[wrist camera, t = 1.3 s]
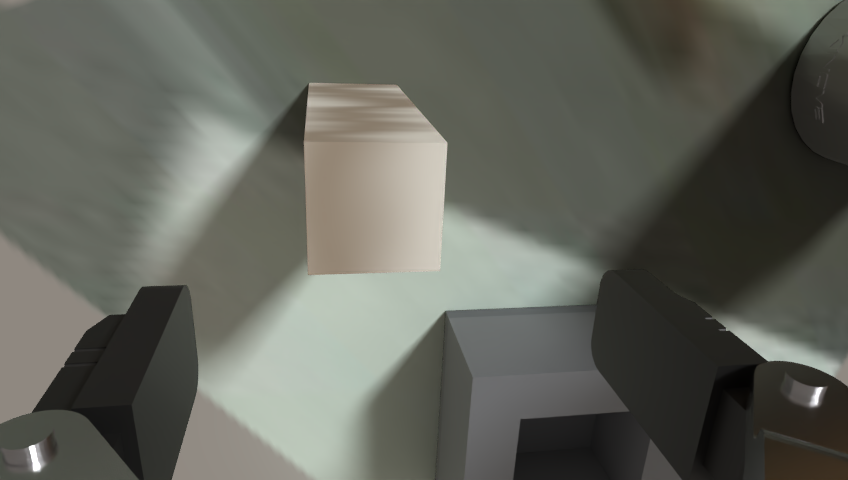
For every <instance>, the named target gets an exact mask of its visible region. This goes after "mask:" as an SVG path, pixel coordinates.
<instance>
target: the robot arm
mask: <svg viewBox="0 0 848 480" xmlns="http://www.w3.org/2000/svg"><path fill="white" fill-rule="evenodd" d="M791 111H792V115H793V120H794V124H795V127H796V129H797V131H798V133H799V135H800V137H801V139H802V140H803V141H804V143H805V144H806V145H807V146H808V147H809V148H810V149H811V150H812V151H814V152H815V153H817V154H819V155H821V156H822V157H824V158H827V159H830V160H833V161H836V162H839V163H842V164H845V165H848V0H844V1H843V2H841V3H840V4H839V5H838V6H837V7H836V8H835V9H834V10H832V11H831V12H830V13H829V14H828V15H827V16H826V17H825V18H824V19H823V21H822V22H821V23H820V25H819V26H818V27H817V29H816V30H815V31H814V33H813V34H812V35H811V37H810V39H809V41H808V42H807V44H806V46H805V48H804V50H803V52H802V53H801V56H800V59H799V62H798V64H797V67H796V70H795V73H794V78H793V84H792V90H791ZM591 351H592V357H593V360H594V363H595V366H596V368H597V369H598V371H599V372H600V373H601V375H602V376H603V377H604V379H605V380H606V381H607V382H608V384H609V385H610V386H611V388H612V389H613V390H614V392H615V393H616V394H617V396H618V397H619V398H620V399H621V401H622V402H623V403H624V405H625V406H626V407H627V409H628V410H629V411H630V413H631V414H632V415H633V416H634V418H635V419H636V420H637V422H638V423H639V424H640V426H641V427H642V428H643V429H644V431H645V432H646V433H647V435H648V436H649V437H650V439H651V440H652V441H653V443H654V444H655V445H656V446H657V448H658V449H659V450H660V452H661V453H662V454H663V456H664V457H665V458H666V460H667V461H668V462H669V463H670V465H671V466H672V467H673V469H674V470H675V471H676V473H677V474H678V475H679V477H680V478H681V479H682V480H848V386H846V385H845V384H844V383H842V382H841V381H839V380H838V379H836V378H835V377H833V376H831V375H829V374H827V373H825V372H823V371H820V370H818V369H815V368H812V367H809V366H806V365H803V364H798V363H794V362H787V361H769V362H768V361H767V360H765V359H764V358H763V357H762V356H760V355H759V354H758V353H757V352H755V351H754V350H753V349H752V348H750V347H749V346H748V345H747V344H745V343H744V342H743V341H742V340H740V339H739V338H738V337H737V336H735V335H734V334H733V333H732V332H730V331H726V327H724V326H723V325H722V324H721V323H719V322H718V321H717V320H716V319H712V316H711V315H709V314H708V313H707V312H706V311H704V310H703V309H702V308H701V307H699V306H698V305H697V304H696V303H694V302H692V301H690V300H688V299H686V298H683V297H681V296H679V295H677V294H675V293H674V292H672V291H671V290H670V289H669V288H668V287H666V286H665V285H664V284H663V283H661V282H660V281H659V280H658V279H657V278H655V277H654V276H653V275H652V274H650V273H649V272H648V271H646V270H644V269H638V270H611V271H607V272H606V273H605V274H604V275H603V277H602V279H601V283H600V289H599V295H598V301H597V307H596V313H595V319H594V325H593V331H592V338H591ZM197 385H198V358H197V349H196V340H195V332H194V323H193V314H192V305H191V297H190V292H189V289H188V287H187V286H186V285H177V286H149V287H142V288H141V289H140V290H139V292H138V294H137V295H136V297H135V299H134V301H133V302H132V304H131V306H130V308H129V309H128V311H127V313H126V314H122V315H109V316H107V317H106V318H104V319H103V320H102V321H100V322H99V323H97V324H96V325H94V326H93V327H92V328H90V329H88V330H87V331H86V332H85V334H84V335H83V337H82V338H81V340H80V341H79V343H78V344H77V346H76V347H75V351H74V352H72V353H71V355H70V356H69V358H68V359H67V361H66V362H65V366H64V367H63V368H61V370H60V371H59V373H58V374H57V376H56V377H55V379H54V380H53V382H52V383H51V385H50V386H49V388H48V389H47V391H46V392H45V394H44V395H43V397H42V398H41V399H40V401H39V403H38V404H37V406H36V407H35V408H34V410H33V411H32V413H30V414H26V415H22V416H19V417H16V418H13V419H11V420H9V421H6V422H4V423H2V424H0V480H172V476H173V473H174V469H175V466H176V462H177V459H178V455H179V452H180V449H181V445H182V442H183V438H184V435H185V431H186V428H187V424H188V421H189V417H190V414H191V410H192V407H193V403H194V400H195V396H196V392H197Z"/></svg>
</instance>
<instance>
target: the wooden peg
mask: <svg viewBox="0 0 848 480" xmlns="http://www.w3.org/2000/svg"><path fill="white" fill-rule="evenodd" d="M446 158H447V142H446V141H445V140H444V138H443V137H442V136H441V135H440V134H439V133H438V132H437V130H436V129H435V128H434V127H433V126H432V125H431V124H430V122H429V121H428V120H427V119H426V118H425V117H424V116H423V114H422V113H421V112H420V111H419V110H418V109H417V108H416V106H415V105H414V104H413V103H412V102H411V101H410V100H409V98H408V97H407V96H406V95H405V94H404V93H403V91H402V90H401V89H400V88H399V87H398V86H397V85H384V84H338V83H309V90H308V101H307V112H306V124H305V135H304V162H305V194H306V226H307V258H308V275H321V274H354V273H387V272H421V271H440V263H441V245H442V228H443V210H444V193H445V175H446Z"/></svg>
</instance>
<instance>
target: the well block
mask: <svg viewBox="0 0 848 480" xmlns="http://www.w3.org/2000/svg"><path fill="white" fill-rule="evenodd" d="M596 307H597V305H577V306H553V307H528V308H504V309H480V310H456V311H446V314H445V330H444V346H443V362H442V378H441V394H440V410H439V426H438V442H437V458H436V474H435V480H682V479H681V478H680V477H679V475H678V474H677V473H676V471H675V470H674V469H673V467H672V466H671V465H670V463H669V462H668V461H667V460H666V458H665V457H664V456H663V454H662V453H661V452H660V450H659V449H658V448H657V446H656V445H655V444H654V443H653V441H652V440H651V439H650V437H649V436H648V435H647V433H646V432H645V431H644V429H643V428H642V427H641V426H640V424H639V423H638V422H637V420H636V419H635V418H634V416H633V415H632V414H631V413H630V411H629V410H628V409H627V407H626V406H625V405H624V403H623V402H622V401H621V399H620V398H619V397H618V396H617V394H616V393H615V392H614V390H613V389H612V388H611V386H610V385H609V384H608V382H607V381H606V380H605V379H604V377H603V376H602V375H601V373H600V372H599V371H598V369H597V368H596V366H595V363H594V360H593V357H592V351H591V338H592V331H593V325H594V319H595V313H596Z"/></svg>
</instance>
